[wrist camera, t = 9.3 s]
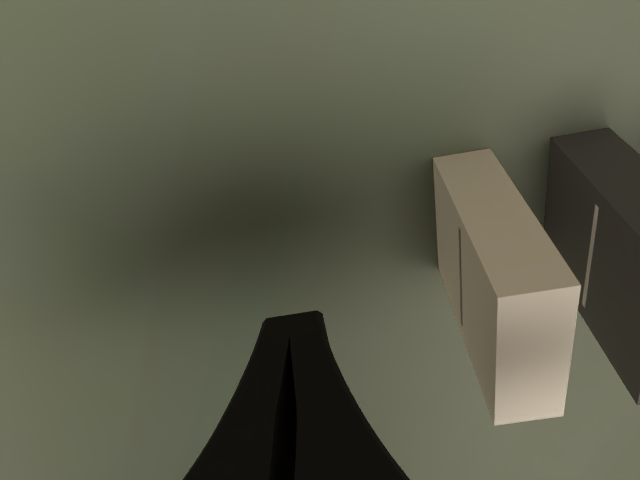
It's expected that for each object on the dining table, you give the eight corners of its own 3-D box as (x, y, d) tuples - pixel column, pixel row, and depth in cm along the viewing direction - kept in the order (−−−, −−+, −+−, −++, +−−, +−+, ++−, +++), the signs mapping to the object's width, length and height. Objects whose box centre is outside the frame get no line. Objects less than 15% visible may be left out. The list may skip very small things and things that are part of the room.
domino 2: (541, 251, 18) (636, 405, 13) (550, 137, 16) (669, 270, 11) (593, 244, 18) (708, 394, 13) (609, 127, 16) (756, 257, 11)
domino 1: (490, 148, 16) (581, 285, 11) (488, 260, 18) (563, 415, 13) (432, 157, 16) (497, 297, 11) (438, 268, 18) (493, 425, 13)
